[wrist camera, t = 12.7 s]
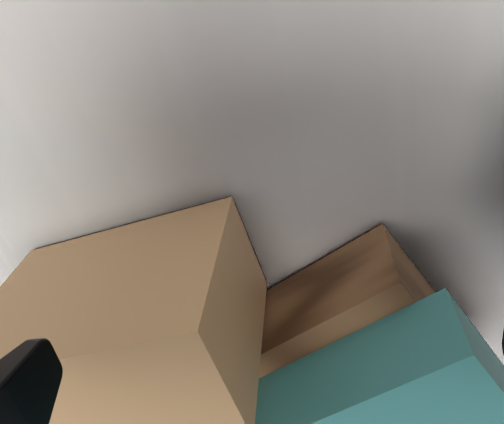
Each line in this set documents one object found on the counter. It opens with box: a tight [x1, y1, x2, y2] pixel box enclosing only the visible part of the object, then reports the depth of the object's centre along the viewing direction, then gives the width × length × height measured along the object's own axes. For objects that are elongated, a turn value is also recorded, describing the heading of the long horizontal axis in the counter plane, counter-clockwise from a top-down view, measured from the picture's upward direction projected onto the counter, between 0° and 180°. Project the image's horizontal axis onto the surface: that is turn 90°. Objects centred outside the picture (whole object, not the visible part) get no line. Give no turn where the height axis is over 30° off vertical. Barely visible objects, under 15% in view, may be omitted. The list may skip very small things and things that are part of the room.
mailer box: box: [0, 197, 267, 424], centre depth 21 cm, size 11×5×9 cm, turn 108°
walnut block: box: [259, 224, 436, 378], centre depth 24 cm, size 10×9×4 cm
